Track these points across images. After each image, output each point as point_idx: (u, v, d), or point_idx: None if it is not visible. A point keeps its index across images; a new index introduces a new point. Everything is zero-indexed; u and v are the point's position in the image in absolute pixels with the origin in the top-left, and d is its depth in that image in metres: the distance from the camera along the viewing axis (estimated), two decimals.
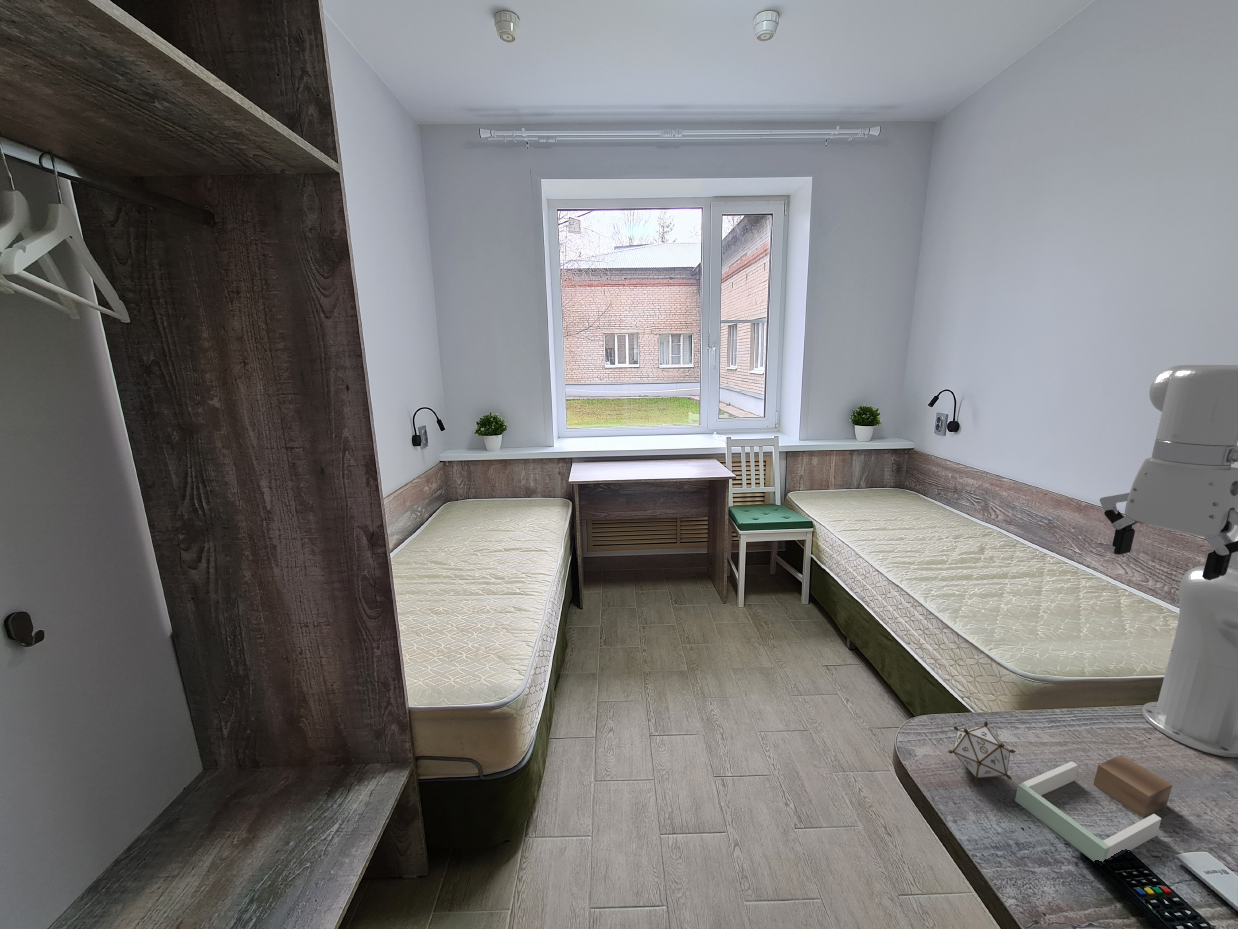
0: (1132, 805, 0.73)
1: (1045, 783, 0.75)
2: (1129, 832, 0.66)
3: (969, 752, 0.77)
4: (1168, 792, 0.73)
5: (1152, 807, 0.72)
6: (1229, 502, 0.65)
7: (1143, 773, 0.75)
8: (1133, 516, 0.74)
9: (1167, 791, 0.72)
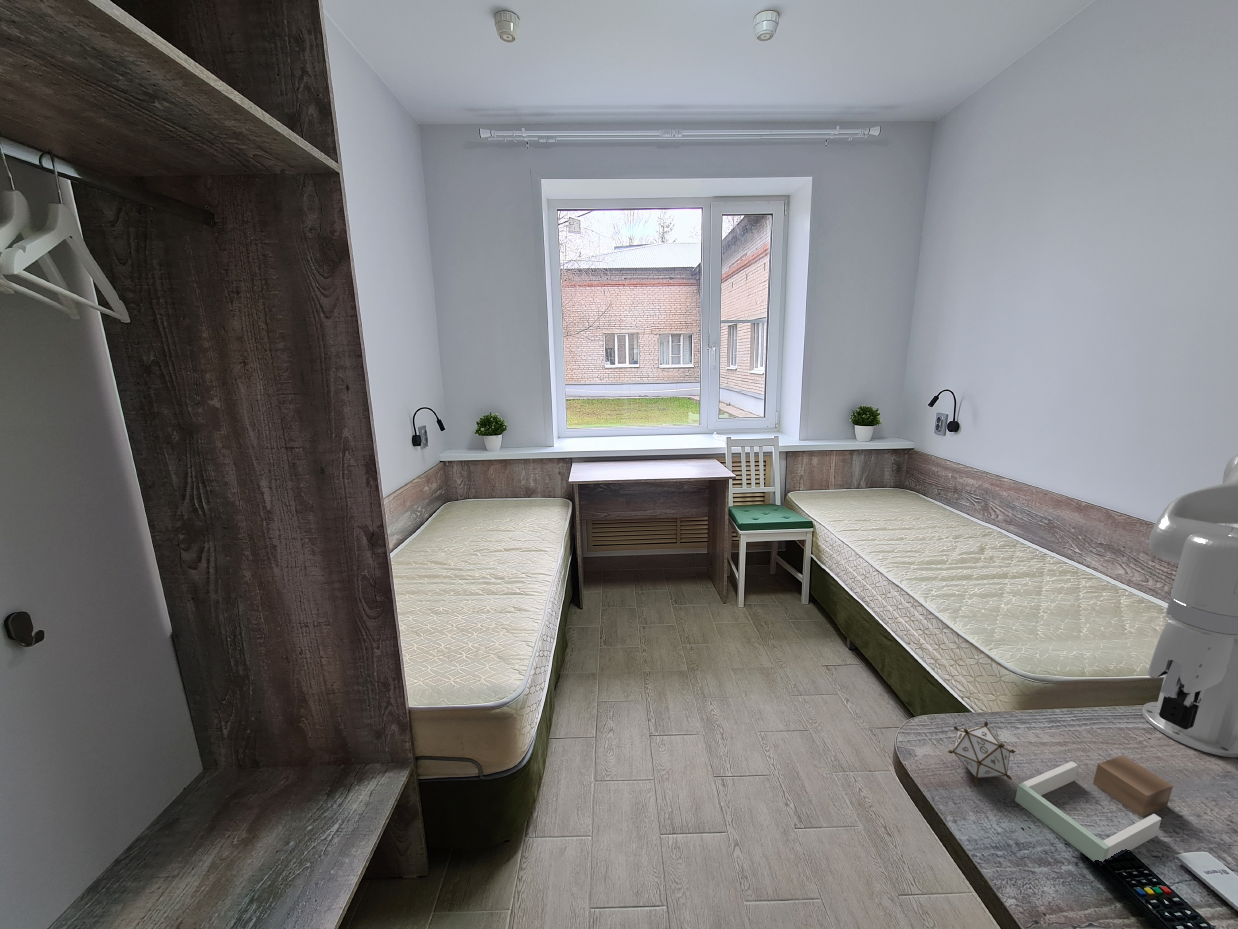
0: (1131, 804, 0.73)
1: (1045, 783, 0.75)
2: (1129, 832, 0.66)
3: (969, 752, 0.77)
4: (1168, 793, 0.72)
5: (1151, 807, 0.72)
6: None
7: (1144, 773, 0.75)
8: (1194, 690, 0.71)
9: (1167, 792, 0.72)
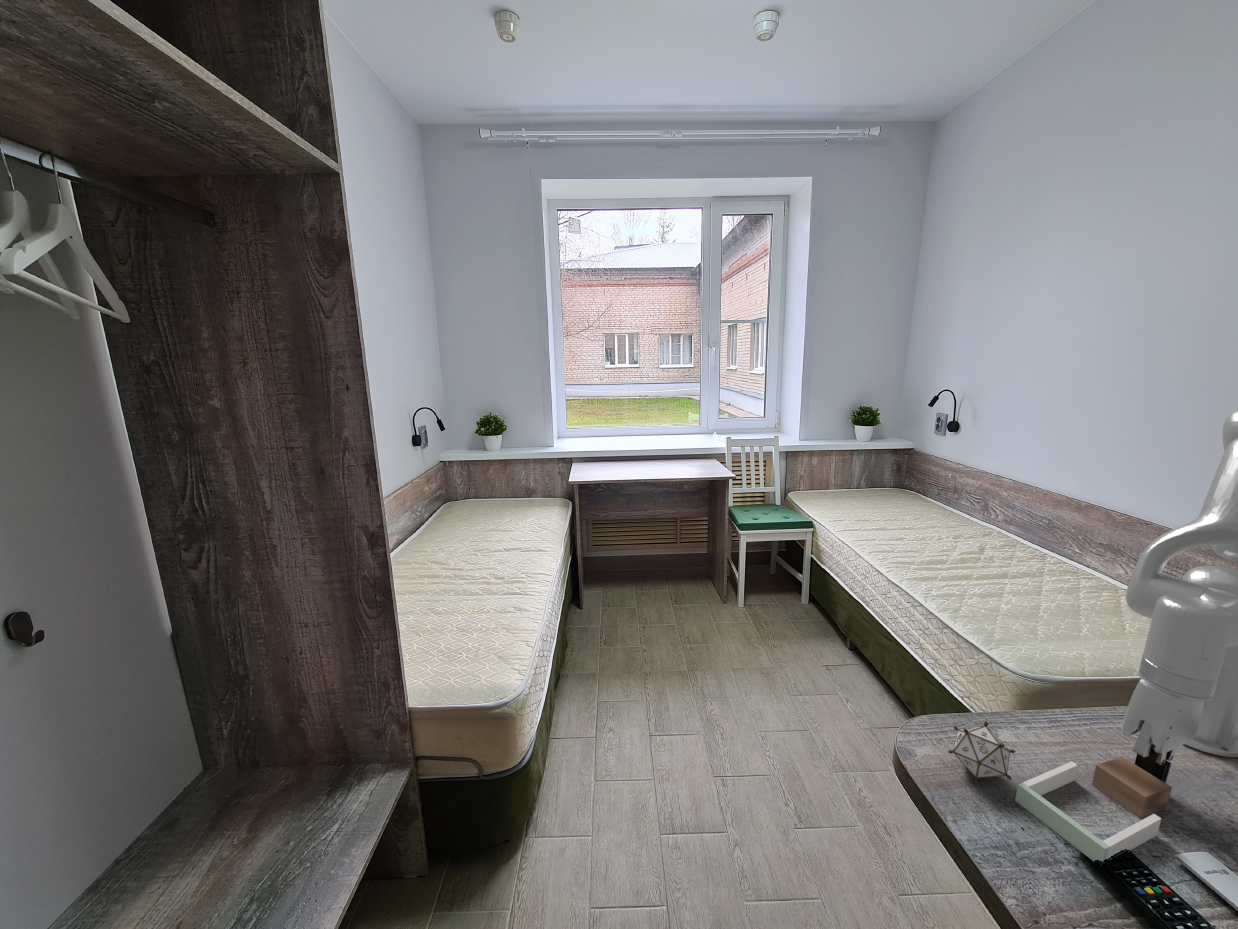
0: (1129, 806, 0.72)
1: (1045, 783, 0.75)
2: (1129, 832, 0.66)
3: (969, 752, 0.77)
4: (1167, 794, 0.72)
5: (1150, 808, 0.72)
6: None
7: (1143, 775, 0.74)
8: (1165, 750, 0.71)
9: (1166, 793, 0.72)
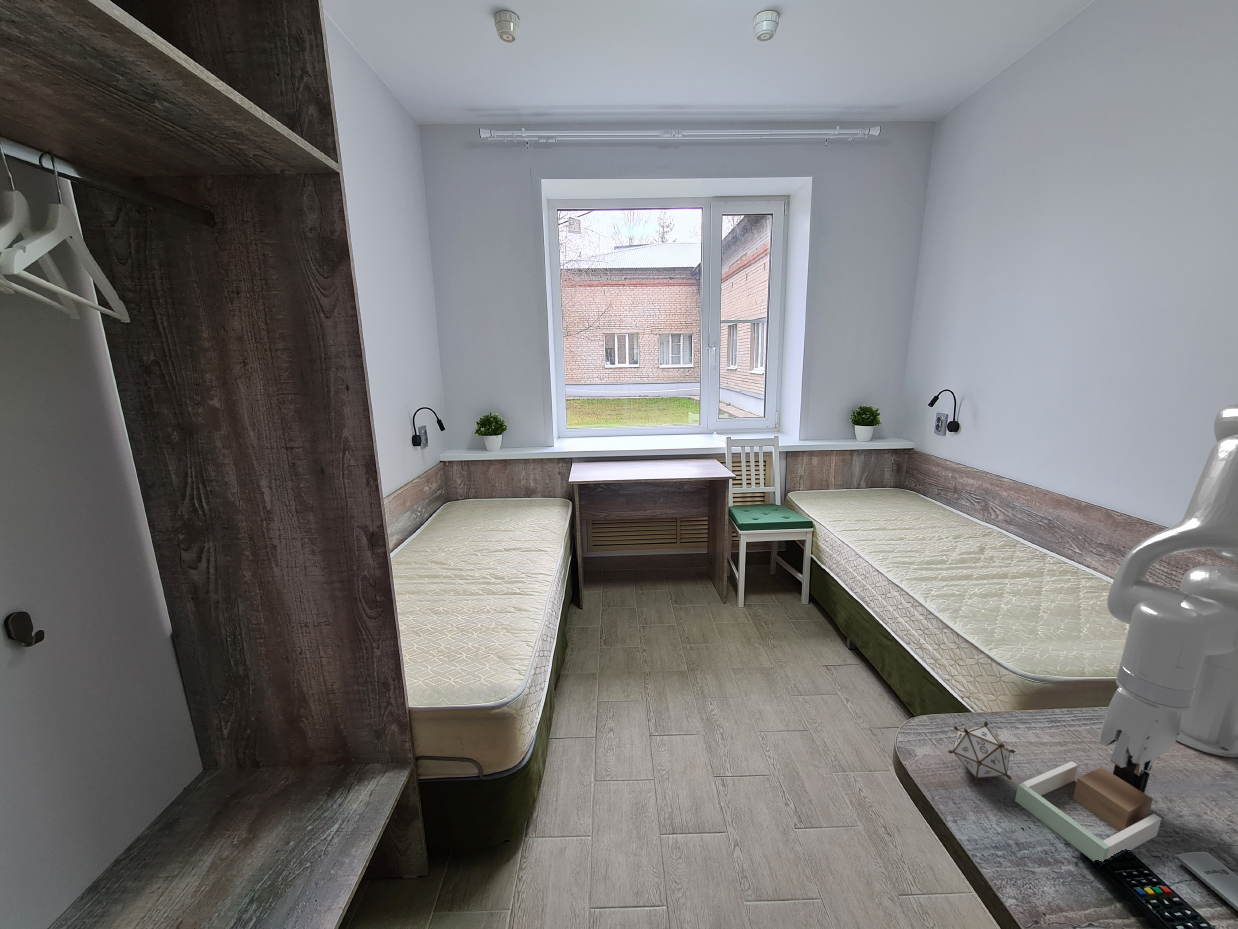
0: (1112, 820, 0.70)
1: (1045, 783, 0.75)
2: (1129, 832, 0.66)
3: (969, 752, 0.77)
4: (1149, 806, 0.70)
5: (1132, 822, 0.69)
6: None
7: (1124, 786, 0.72)
8: (1142, 761, 0.70)
9: (1147, 805, 0.70)
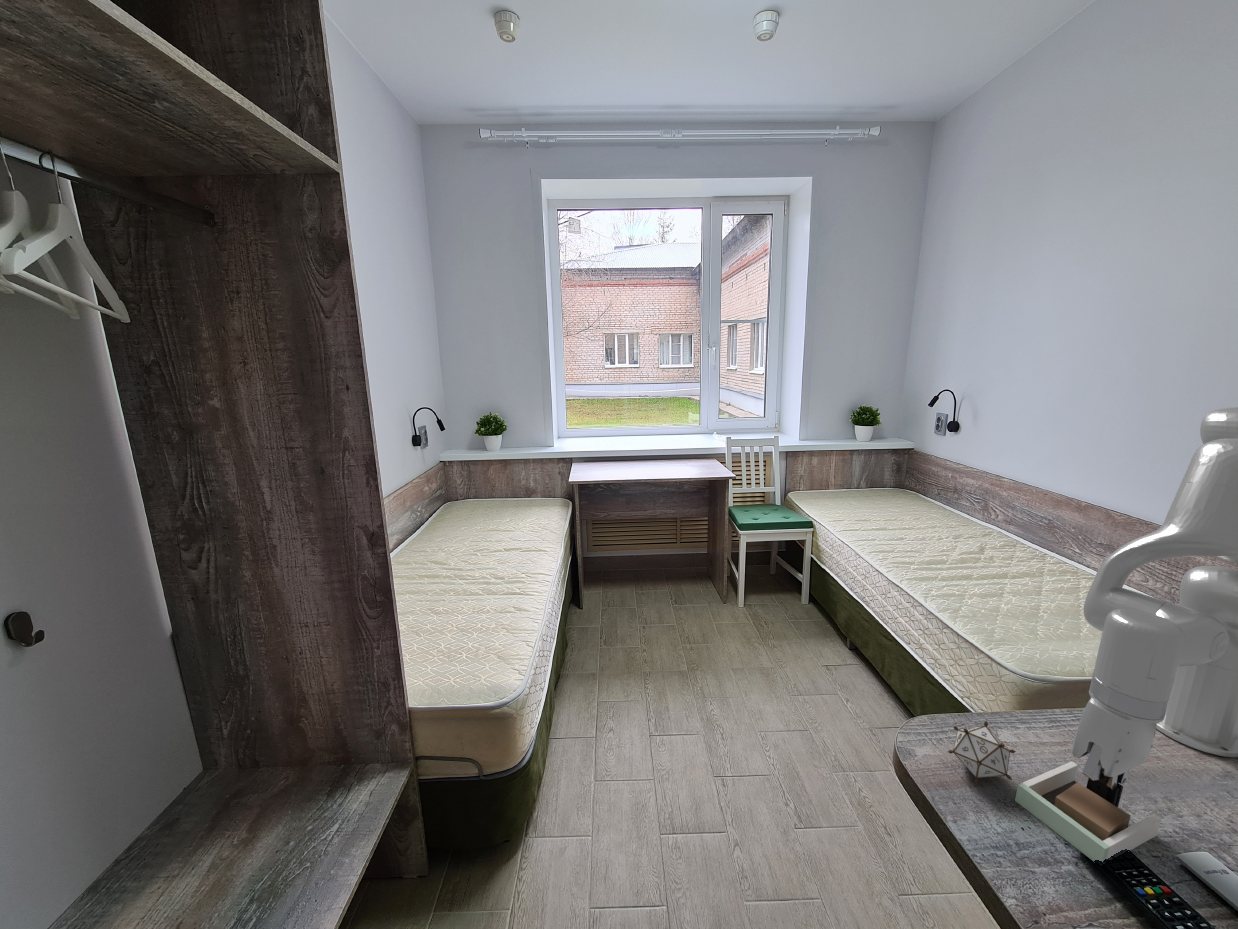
0: None
1: (1045, 783, 0.75)
2: (1129, 832, 0.66)
3: (969, 752, 0.77)
4: (1127, 824, 0.68)
5: None
6: None
7: (1101, 803, 0.70)
8: (1114, 774, 0.68)
9: (1126, 823, 0.68)
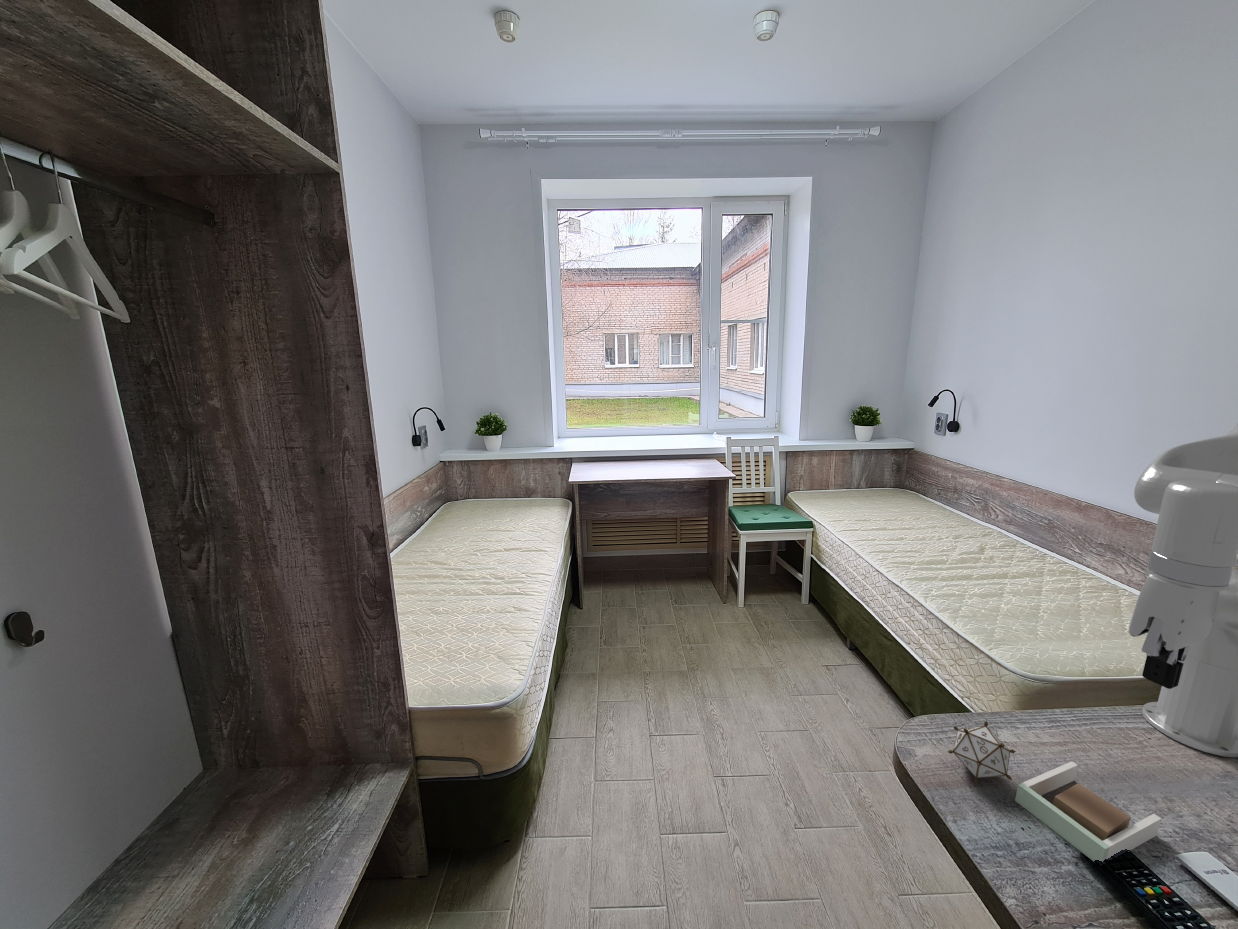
0: None
1: (1045, 783, 0.75)
2: (1129, 832, 0.66)
3: (969, 752, 0.77)
4: (1126, 825, 0.68)
5: None
6: None
7: (1101, 804, 0.69)
8: (1176, 647, 0.66)
9: (1125, 824, 0.67)
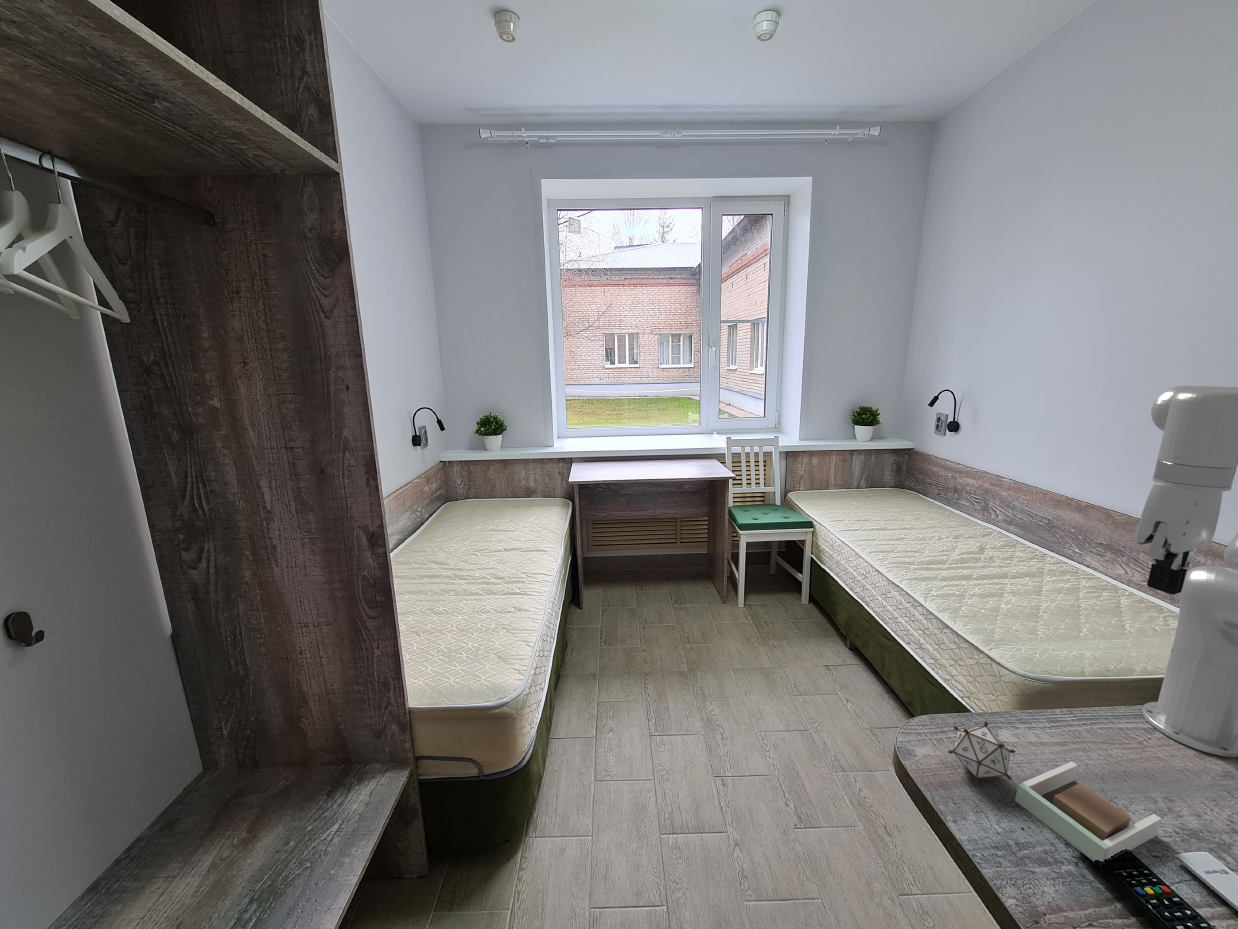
0: None
1: (1045, 783, 0.75)
2: (1129, 832, 0.66)
3: (969, 752, 0.77)
4: (1127, 826, 0.68)
5: None
6: None
7: (1101, 804, 0.69)
8: (1181, 549, 0.69)
9: (1126, 825, 0.67)
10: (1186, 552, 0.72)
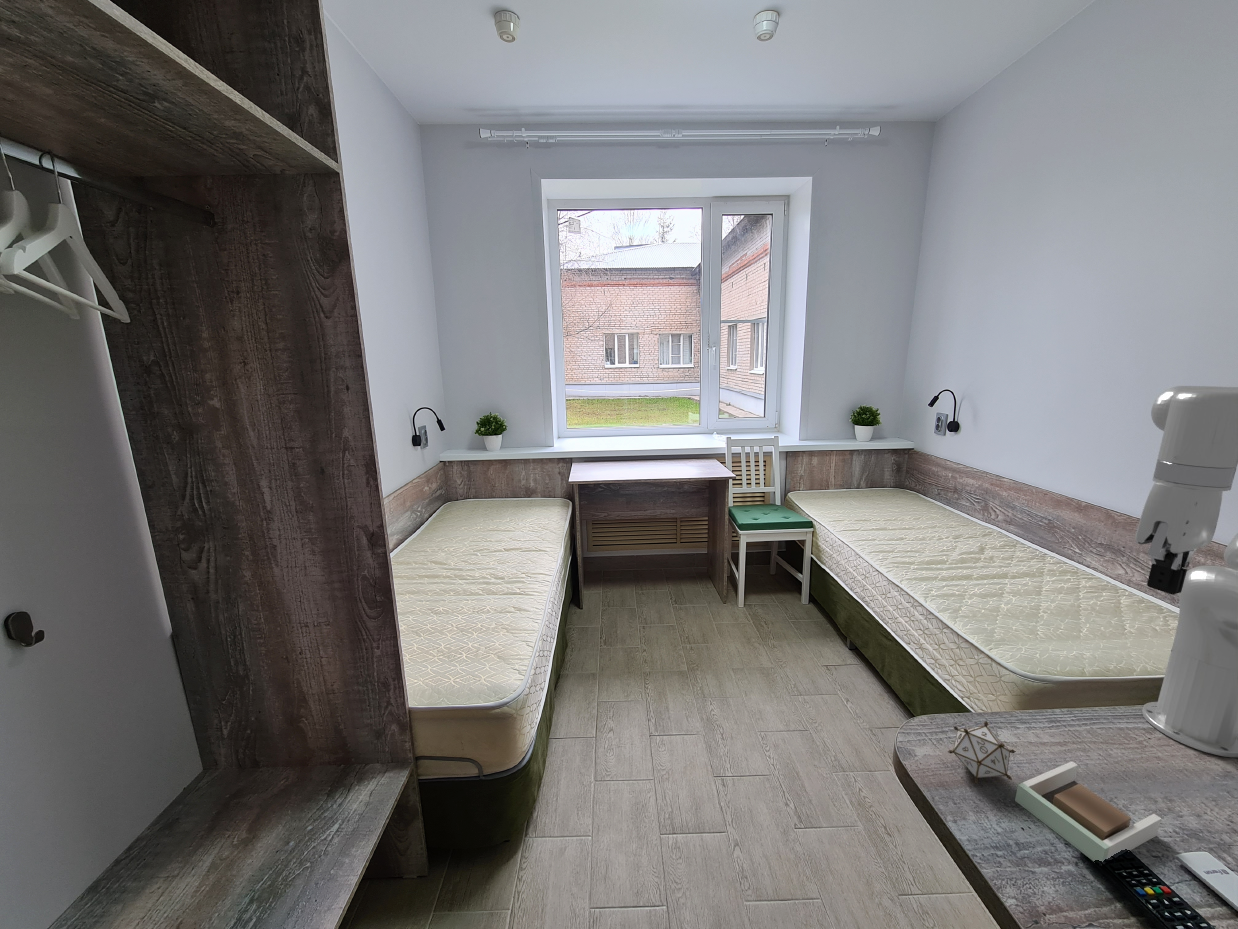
0: None
1: (1045, 783, 0.75)
2: (1129, 832, 0.66)
3: (969, 752, 0.77)
4: (1127, 826, 0.67)
5: None
6: None
7: (1102, 804, 0.69)
8: (1181, 549, 0.69)
9: (1126, 825, 0.67)
10: (1186, 552, 0.72)
